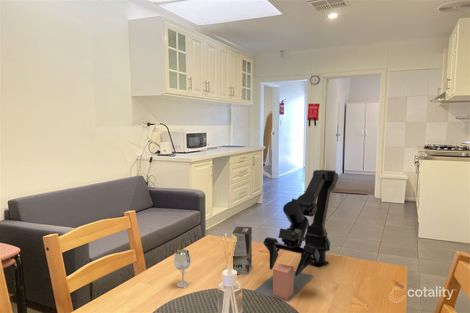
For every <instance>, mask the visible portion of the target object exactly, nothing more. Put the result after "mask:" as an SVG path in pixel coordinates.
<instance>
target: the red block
mask: <svg viewBox="0 0 470 313" xmlns="http://www.w3.org/2000/svg"><path fill="white" fill-rule="evenodd" d="M294 271H295V268H294V266H290V265H287V264H282V263H279V264H277V265H276V266H274V267H273V268H272V276H273V296H276V297H280V298H283V299H286V300H287V299H288V298H289V297H290V296H291V295H292V294H293V284H294Z"/></svg>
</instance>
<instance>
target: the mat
mask: <svg viewBox="0 0 470 313" xmlns="http://www.w3.org/2000/svg"><path fill="white" fill-rule="evenodd" d="M295 273H296V270H294V284H293V294H292V295H291V296H290V297H289V298H288V299H287V300H286V299H283V298H280V297H276V296H273V275H271V276H270V277H269V278H268V279H267V280H265V281H264V282H263V283H262V284H260V285H259V286H257V288H255V289H254V290H253V292H255V293H259V294H260V295H265V296H268V297H270V298H271V297H272V298H274V299H278V300H281V301H284V302H288V303H290V301H291V300H293V298H294V297H296V296H297V295H298V294H299V292H300V291H301V290H302V289H303V288H304V287H305V286H306V285H307V284H308V283H309V282H310V281H311V280H312V279H313V278H314V277H315V275H312V274H308V273H304V272H301V273H300V274H299V275H298V276H296V275H295Z"/></svg>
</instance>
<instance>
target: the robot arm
mask: <svg viewBox="0 0 470 313" xmlns="http://www.w3.org/2000/svg"><path fill="white" fill-rule="evenodd" d="M338 181H339V173H337V172H336V170H330V169H316V170H313V173H312V177H311V178H310V182H309V183H308V186H307V187H306V189H305V191H304V193H303V194H301V195H299V196H298V197H297V198H296V199H295V198H292V199H291V200H290V201H288V202H286V203H285V204H284V205H283V208H282V211H283V213H284V215H285V217H286V218H287V220H288V222H289V223H290V226H289V227H287V228H282V227H281V228H279V233H278V239H281V242H282V243H281V242H279V240H278V239H277V238H273V237H265V239H264V240H263V245H264V246H265V248H266V249H267V250H268V251H269V269H270V271H271V270H272V271H273V269H274V267H275V265H276V261H277V260H278V256H279V252H280V250H283V251H287V252H291V253H296V254H300V260H299V263H298V264H297V268H296V270H295V271H296V273H295V275H296V276H298V275H299V274H300V273H303V271H304V269H306V268H307V267H308V266H309V265H313V266H314V267H317V268H318V267H319V268H320V267H323V266H325V265H327V264H330V263H329V262H330V261H327V260H326V252H330V251H331V250H330V249H331V248H330V247H331V242H330V240H329V237H328V231H327V229H326V226H325V224H326V218H327V213H328V209H329V203H330V197H331V192H333V190H334V189H335V188H336V185H337V183H338ZM308 217H313V220H312V223H311V224H310V220H309V219H308ZM303 242H304V243H305V244H304V246H303V247H302V244H303Z"/></svg>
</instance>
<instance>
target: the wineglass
mask: <svg viewBox="0 0 470 313" xmlns="http://www.w3.org/2000/svg"><path fill="white" fill-rule="evenodd" d="M191 262H192V261H191V254H190V251H189V250H188V249H177V250H176V251H175V252H174V258H173V264H174V267H175V269H177V270H180V271H181V272H180V273H181V274H180V275H181V279H182V280H181V281H179V282H177V283H176V286H177V287H178V288H187V287H189V286H190V283H189V282H188V281H184V276H185V271H184V270H187V269H189V267H190V266H191Z"/></svg>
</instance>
